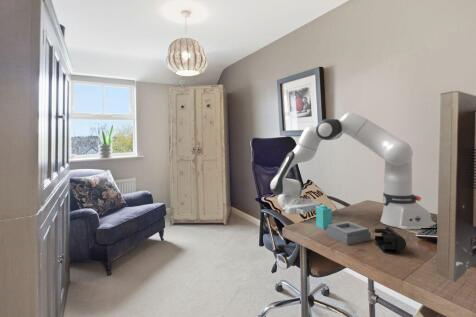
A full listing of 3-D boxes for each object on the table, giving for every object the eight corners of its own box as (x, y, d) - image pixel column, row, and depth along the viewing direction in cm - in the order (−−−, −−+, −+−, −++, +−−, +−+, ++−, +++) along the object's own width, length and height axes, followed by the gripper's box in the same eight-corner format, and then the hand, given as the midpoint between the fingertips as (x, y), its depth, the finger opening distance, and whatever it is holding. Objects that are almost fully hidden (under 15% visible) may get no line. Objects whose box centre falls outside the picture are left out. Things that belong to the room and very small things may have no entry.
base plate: (348, 230, 116) (348, 220, 115) (370, 239, 105) (370, 228, 104) (326, 234, 112) (326, 224, 111) (347, 245, 100) (346, 233, 100)
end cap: (406, 254, 91) (406, 235, 90) (384, 254, 92) (384, 235, 91) (393, 243, 101) (394, 226, 100) (374, 242, 102) (374, 226, 101)
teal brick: (324, 224, 125) (324, 203, 125) (332, 227, 121) (331, 206, 120) (316, 225, 124) (316, 205, 123) (323, 229, 119) (322, 207, 118)
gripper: (279, 201, 140) (293, 207, 127) (311, 197, 147) (328, 202, 134) (280, 213, 140) (294, 220, 127) (312, 208, 147) (328, 214, 134)
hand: (311, 211), depth 131 cm, fingers open, 8 cm apart
